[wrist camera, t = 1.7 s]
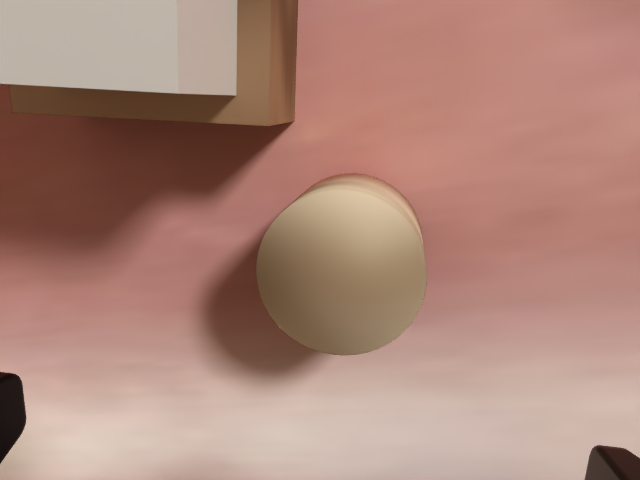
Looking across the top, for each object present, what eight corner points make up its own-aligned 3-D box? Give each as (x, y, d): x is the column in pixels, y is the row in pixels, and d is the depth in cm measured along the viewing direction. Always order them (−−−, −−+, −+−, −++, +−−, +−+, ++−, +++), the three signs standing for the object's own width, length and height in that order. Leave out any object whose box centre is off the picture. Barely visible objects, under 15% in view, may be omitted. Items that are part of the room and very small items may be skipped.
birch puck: (415, 312, 20) (418, 364, 16) (283, 299, 20) (255, 346, 16) (428, 177, 18) (434, 197, 14) (286, 169, 19) (256, 186, 15)
